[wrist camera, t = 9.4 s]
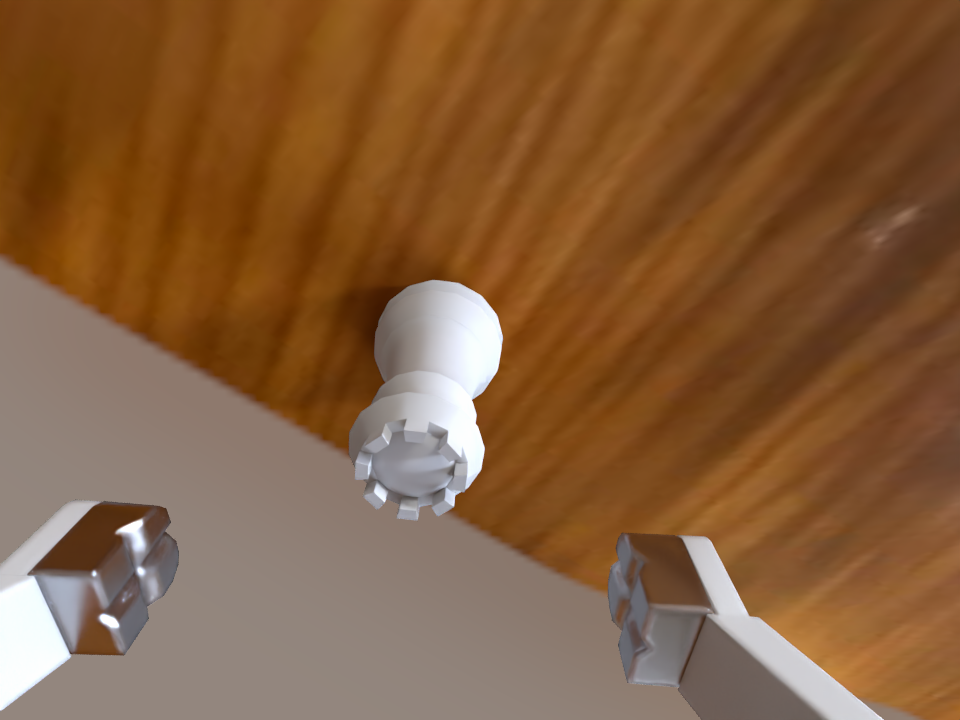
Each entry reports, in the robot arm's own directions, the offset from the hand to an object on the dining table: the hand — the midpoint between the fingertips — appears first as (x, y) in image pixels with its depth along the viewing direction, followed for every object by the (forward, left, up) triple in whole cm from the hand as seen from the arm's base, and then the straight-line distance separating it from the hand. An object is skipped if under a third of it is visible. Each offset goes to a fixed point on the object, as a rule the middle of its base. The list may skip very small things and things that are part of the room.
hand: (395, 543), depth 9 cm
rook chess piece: (0, 0, -10) cm, 10 cm away
